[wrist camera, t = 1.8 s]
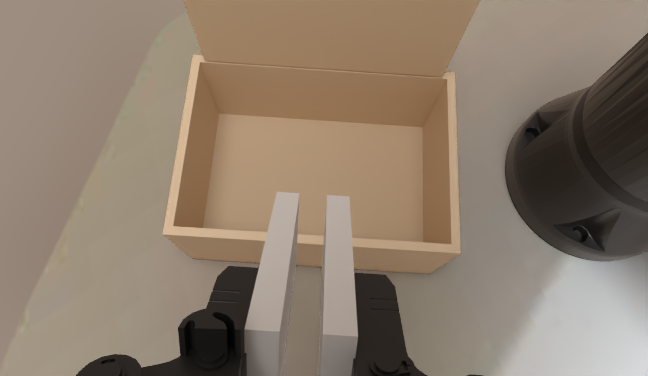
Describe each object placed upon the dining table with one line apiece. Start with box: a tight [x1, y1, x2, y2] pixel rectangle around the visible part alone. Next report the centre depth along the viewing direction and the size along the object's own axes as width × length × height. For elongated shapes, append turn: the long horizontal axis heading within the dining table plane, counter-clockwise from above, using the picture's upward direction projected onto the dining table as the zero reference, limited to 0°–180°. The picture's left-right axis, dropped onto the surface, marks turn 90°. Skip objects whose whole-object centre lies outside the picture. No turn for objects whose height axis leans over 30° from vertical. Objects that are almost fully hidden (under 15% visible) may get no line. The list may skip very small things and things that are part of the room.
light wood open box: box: [163, 55, 461, 274], centre depth 39 cm, size 20×14×9 cm
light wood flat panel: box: [183, 0, 480, 77], centre depth 31 cm, size 18×1×12 cm, turn 87°
